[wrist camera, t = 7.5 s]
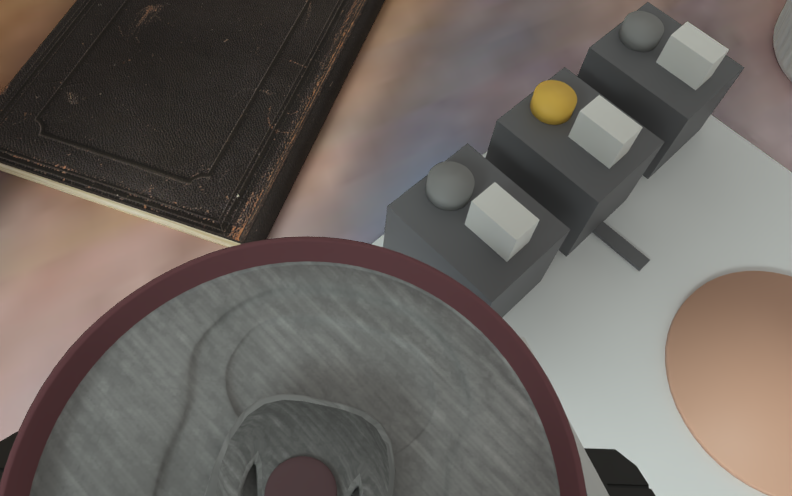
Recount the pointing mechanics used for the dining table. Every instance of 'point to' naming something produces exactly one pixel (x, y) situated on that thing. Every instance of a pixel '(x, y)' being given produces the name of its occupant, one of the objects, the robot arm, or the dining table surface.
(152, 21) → the hardcover book
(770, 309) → the breaker board
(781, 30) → the ramekin
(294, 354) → the soda can
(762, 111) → the dining table surface
